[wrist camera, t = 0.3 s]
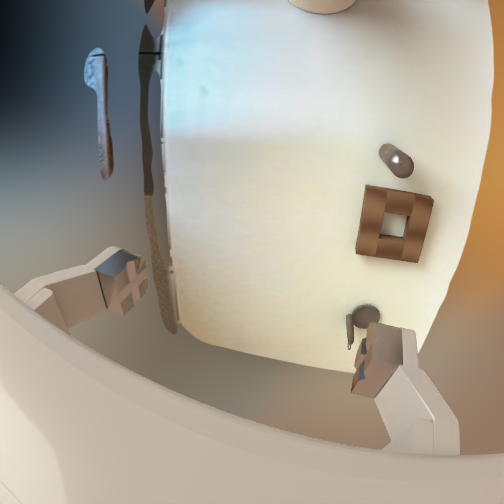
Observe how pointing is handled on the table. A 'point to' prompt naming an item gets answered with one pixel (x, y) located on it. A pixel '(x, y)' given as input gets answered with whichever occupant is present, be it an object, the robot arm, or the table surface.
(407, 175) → the steel pin
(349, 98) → the table surface
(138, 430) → the robot arm
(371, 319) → the pocket watch
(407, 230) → the socket plate
